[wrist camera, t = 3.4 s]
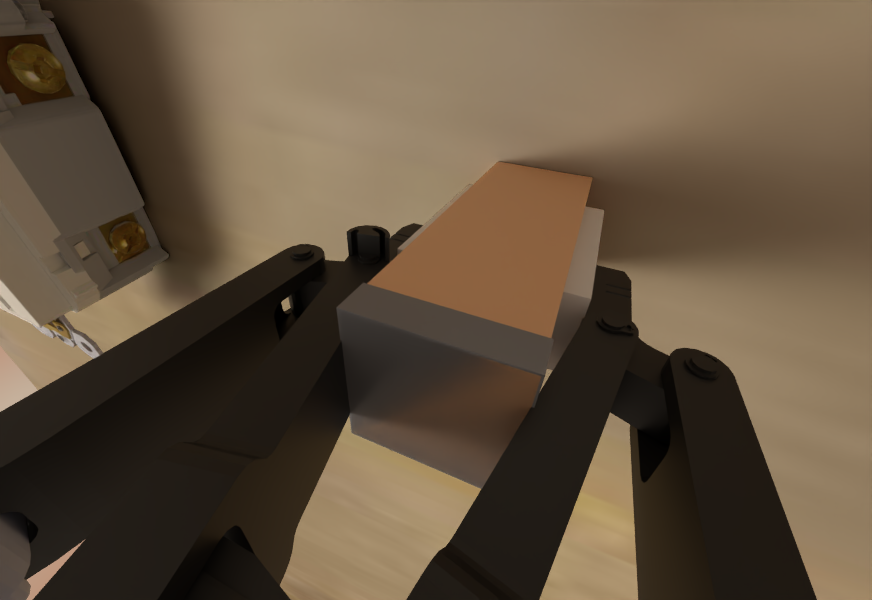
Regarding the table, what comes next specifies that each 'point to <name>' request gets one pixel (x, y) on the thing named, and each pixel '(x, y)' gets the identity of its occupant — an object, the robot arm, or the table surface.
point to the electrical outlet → (60, 186)
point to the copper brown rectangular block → (464, 322)
